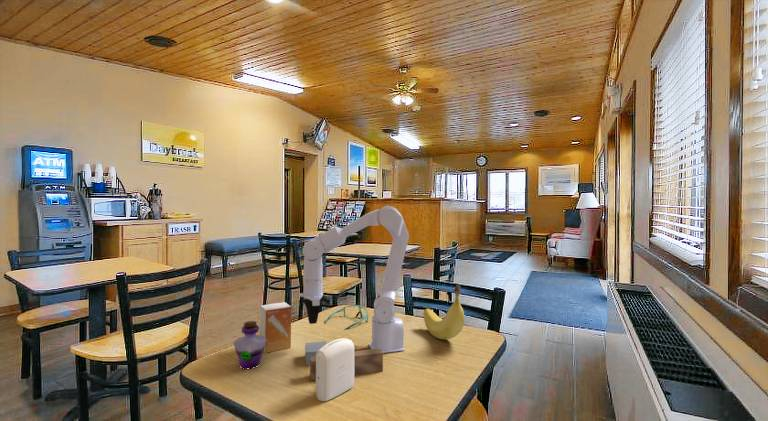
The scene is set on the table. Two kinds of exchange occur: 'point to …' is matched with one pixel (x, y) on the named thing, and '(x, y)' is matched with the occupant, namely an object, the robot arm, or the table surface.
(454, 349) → the table surface
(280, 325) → the small box
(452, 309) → the banana
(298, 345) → the table surface
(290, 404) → the table surface
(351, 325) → the safety glasses
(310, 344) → the slate block
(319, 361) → the photo printer
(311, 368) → the walnut board
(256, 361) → the potion bottle
